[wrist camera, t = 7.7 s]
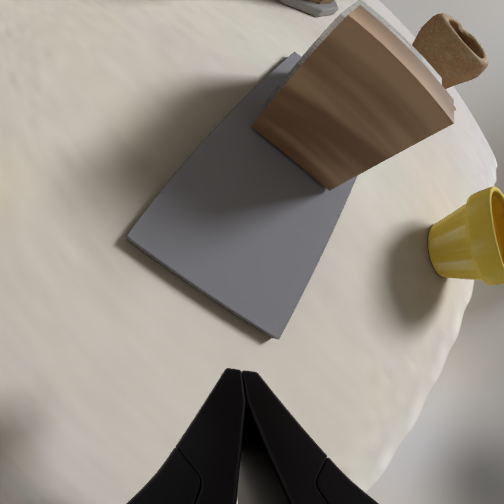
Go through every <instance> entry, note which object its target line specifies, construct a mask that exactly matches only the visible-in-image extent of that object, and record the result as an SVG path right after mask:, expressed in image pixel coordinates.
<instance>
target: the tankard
mask: <svg viewBox="0 0 504 504" xmlns="http://www.w3.org/2000/svg"><path fill="white" fill-rule="evenodd" d="M279 1H280V2H282V3H283V4H285V5H288V6H290V7H293V8H295V9H298V10H301V11H303V12H305V13H308V14H310V15H313V16H315V17H319V16H325V15H331V14H334V13H335V12H336V11H337V10H338V6H337V4H336V2H335V0H279Z"/></svg>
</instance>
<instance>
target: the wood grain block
mask: <svg viewBox="0 0 504 504" xmlns="http://www.w3.org/2000/svg"><path fill="white" fill-rule="evenodd" d="M452 124H454V101H453V98H452V97H451V96H450V94H449V93H448V92H447V91H446V89H445V88H444V87H443V86H442V85H441V83H440V82H439V81H438V80H437V79H436V77H435V76H434V75H433V74H432V73H431V72H430V71H429V69H428V68H427V67H426V66H425V65H424V64H423V63H422V62H421V61H420V60H419V58H418V57H417V56H416V55H415V54H414V53H413V52H412V51H411V50H410V49H409V48H408V47H407V46H406V45H405V44H404V43H403V42H402V41H401V40H400V39H399V38H398V37H397V36H396V35H395V34H393V33H392V32H391V31H390V30H389V29H388V28H387V27H386V26H385V25H384V24H383V23H381V22H380V21H379V20H378V19H377V18H376V17H374V16H373V15H372V14H371V13H370V12H368V11H367V10H366V9H365V8H364V7H362V6H361V5H359V6H358V7H357V8H356V9H354V10H353V11H352V12H351V13H349V14H348V15H347V16H346V17H345V18H344V19H343V20H342V21H341V22H340V23H339V25H338V26H337V27H336V28H335V29H334V30H333V31H332V32H331V33H330V34H329V35H328V36H327V37H326V38H325V40H324V41H323V42H322V43H321V44H320V45H319V46H318V47H317V48H316V49H315V51H314V52H313V53H312V54H311V55H310V56H309V57H308V58H307V60H306V61H305V62H304V63H303V64H302V65H301V66H300V68H299V69H298V70H297V71H296V72H295V73H294V75H293V76H292V77H291V78H290V79H289V81H288V82H287V83H286V84H285V85H284V86H283V88H282V89H281V90H280V91H279V92H278V94H277V95H276V96H275V97H274V99H273V100H272V101H271V102H270V104H269V105H268V106H267V107H266V108H265V110H264V111H263V112H262V113H261V115H260V116H259V117H258V119H257V120H256V121H255V122H254V124H253V125H252V126H251V127H252V128H253V129H254V130H256V131H257V132H258V133H260V134H261V135H262V136H264V137H265V138H266V139H267V140H269V141H270V142H271V143H273V144H274V145H275V146H276V147H278V148H279V149H280V150H281V151H283V152H284V153H285V154H286V155H288V156H289V157H290V158H291V159H292V160H294V161H295V162H296V163H297V164H298V165H300V166H301V167H302V168H303V169H304V170H306V171H307V172H308V173H309V174H310V175H311V176H313V177H314V178H315V179H316V180H317V181H318V182H320V183H321V184H322V185H323V186H324V187H325V188H326V189H328V190H329V191H330V190H332V189H334V188H335V187H337V186H339V185H341V184H343V183H344V182H346V181H348V180H350V179H352V178H354V177H355V176H357V175H359V174H361V173H363V172H364V171H366V170H368V169H370V168H372V167H374V166H375V165H377V164H379V163H381V162H383V161H385V160H386V159H388V158H390V157H392V156H394V155H396V154H397V153H399V152H401V151H403V150H405V149H407V148H409V147H410V146H412V145H414V144H416V143H418V142H420V141H422V140H423V139H425V138H427V137H429V136H431V135H433V134H435V133H437V132H438V131H440V130H442V129H444V128H446V127H448V126H450V125H452Z"/></svg>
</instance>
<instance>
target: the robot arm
mask: <svg viewBox="0 0 504 504" xmlns="http://www.w3.org/2000/svg"><path fill="white" fill-rule="evenodd" d="M237 498H238V504H378V503H377V502H376V501H375V500H373V499H372V498H371V497H370V496H368V495H367V494H366V493H365V492H364V491H362V490H361V489H360V488H359V487H358V486H357V485H355V484H354V483H353V482H352V481H351V480H350V479H349V478H348V477H347V476H346V475H345V474H344V473H343V472H342V471H341V470H340V469H339V468H338V467H337V466H336V465H335V464H334V463H333V462H332V460H331V459H330V458H327V455H326V454H325V453H324V452H323V451H322V450H321V448H320V447H319V446H318V445H317V444H316V443H315V442H314V440H313V439H312V438H311V437H310V436H309V435H308V434H307V432H306V431H305V430H304V429H303V428H302V427H301V425H300V424H299V423H298V422H297V421H296V419H295V418H294V417H293V416H292V415H291V414H290V412H289V411H288V410H287V409H286V407H285V406H284V405H283V404H282V403H281V401H280V400H279V399H278V398H277V397H276V395H275V394H274V393H273V392H272V390H271V389H270V388H269V387H268V385H267V384H266V383H265V382H264V380H263V379H262V378H261V376H260V375H259V374H258V373H257V372H252V371H242V372H241V371H240V370H237V369H230V368H227V369H225V371H224V372H223V374H222V375H221V377H220V379H219V380H218V382H217V383H216V385H215V387H214V388H213V390H212V391H211V393H210V394H209V396H208V398H207V399H206V401H205V402H204V404H203V405H202V407H201V409H200V410H199V412H198V413H197V415H196V416H195V418H194V419H193V421H192V422H191V424H190V426H189V427H188V429H187V430H186V432H185V433H184V435H183V436H182V438H181V439H180V441H179V442H178V444H177V445H176V448H174V449H173V451H172V452H171V454H170V455H169V457H168V458H167V460H166V461H165V462H164V464H163V465H162V466H161V468H160V469H159V470H158V472H157V473H156V474H155V475H154V476H153V477H152V478H151V480H150V481H149V482H148V483H147V484H146V485H145V486H144V487H143V488H142V489H141V490H140V491H139V492H138V493H137V494H136V495H135V496H134V497H133V498H132V499H131V500H130V501H129V502H128V503H127V504H236V502H237Z"/></svg>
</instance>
